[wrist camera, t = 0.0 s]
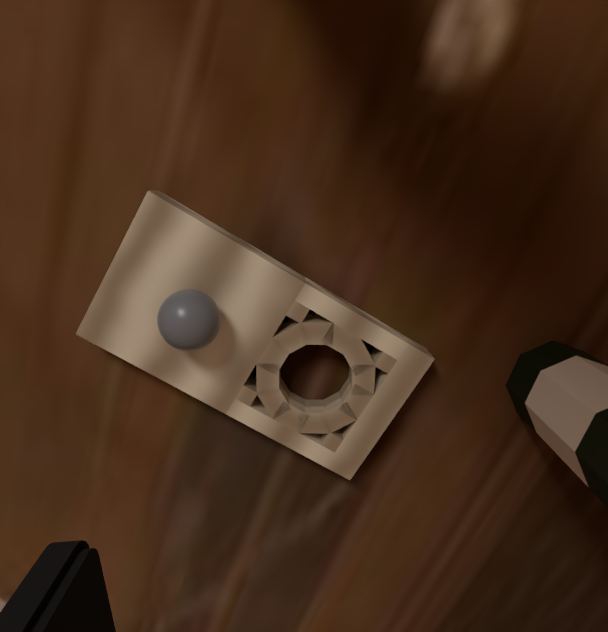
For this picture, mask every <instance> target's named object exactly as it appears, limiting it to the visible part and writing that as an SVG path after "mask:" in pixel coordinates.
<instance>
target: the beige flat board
mask: <svg viewBox="0 0 608 632" xmlns="http://www.w3.org/2000/svg"><path fill="white" fill-rule="evenodd" d="M185 289H193V290H198V291H201V292H203V293H205V294H207V295H208V296H209V297H211V298H212V299H213V300H214V302H215V303H216V305H217V306H218V309H219V312H220V317H221V324H220V328H219V331H218V334H217V336H216V337H215V338H214V340H213V341H212V342H211V343H210V344H209V345H207V346H206V347H204V348H202V349H199V350H195V351H182V350H179V349H176V348H174V347H172V346H171V345H169V344H168V343H167V342H166V341H165V340H164V339H163V337H162V336H161V334H160V332H159V329H158V324H157V316H158V312H159V309H160V306H161V305H162V303H163V302H164V301H165V299H166V298H167V297H168V296H170V295H171V294H173V293H175V292H177V291H180V290H185ZM309 310H312V311H314V312H315V313H317V314H307V313H308V312H309ZM285 316H288V317H290V318H292V319H290V320H288V321H286V322H285V323H283V324H281V323H282V321H283V319H284V318H285ZM280 324H281V325H280ZM76 335H78V336H80V337H82V338H84V339H86V340H88V341H90V342H91V343H93V344H95V345H97V346H99V347H101V348H103V349H105V350H106V351H108V352H110V353H112V354H114V355H116V356H118V357H120V358H121V359H123V360H125V361H127V362H129V363H131V364H133V365H135V366H136V367H138V368H140V369H142V370H144V371H146V372H148V373H150V374H151V375H153V376H155V377H157V378H159V379H161V380H163V381H165V382H166V383H168V384H170V385H172V386H174V387H176V388H178V389H179V390H181V391H183V392H185V393H187V394H189V395H191V396H193V397H194V398H196V399H198V400H200V401H202V402H204V403H206V404H208V405H209V406H211V407H213V408H215V409H217V410H219V411H221V412H223V413H224V414H226V415H228V416H230V417H232V418H234V419H236V420H238V421H239V422H241V423H243V424H245V425H247V426H249V427H251V428H253V429H254V430H256V431H258V432H260V433H262V434H264V435H266V436H268V437H269V438H271V439H273V440H275V441H277V442H279V443H281V444H283V445H284V446H286V447H288V448H290V449H292V450H294V451H296V452H298V453H299V454H301V455H303V456H305V457H307V458H309V459H311V460H313V461H314V462H316V463H318V464H320V465H322V466H324V467H326V468H328V469H329V470H331V471H333V472H335V473H337V474H339V475H341V476H343V477H344V478H346V479H348V480H351V478H352V477H353V475H354V474H355V473H356V471H357V470H358V468H359V467H360V465H361V464H362V463H363V461H364V460H365V458H366V457H367V455H368V454H369V453H370V451H371V450H372V448H373V447H374V445H375V444H376V442H377V441H378V440H379V438H380V437H381V435H382V434H383V432H384V431H385V430H386V428H387V427H388V425H389V424H390V422H391V421H392V420H393V418H394V417H395V415H396V414H397V412H398V411H399V410H400V408H401V407H402V405H403V404H404V402H405V401H406V400H407V398H408V397H409V395H410V394H411V392H412V391H413V390H414V388H415V387H416V385H417V384H418V382H419V381H420V380H421V378H422V377H423V375H424V374H425V372H426V371H427V370H428V368H429V367H430V365H431V364H432V362H433V361H434V360H435V359H434V358H433V356H432V355H431V354H430V352H429V351H428V350H427V348H425V347H423V346H422V345H420V344H418V343H416V342H415V341H413V340H411V339H410V338H408V337H406V336H405V335H403V334H401V333H399V332H398V331H396V330H394V329H393V328H391V327H389V326H388V325H386V324H384V323H383V322H381V321H379V320H377V319H376V318H374V317H372V316H371V315H369V314H367V313H366V312H364V311H362V310H360V309H359V308H357V307H355V306H354V305H352V304H350V303H349V302H347V301H345V300H343V299H342V298H340V297H338V296H337V295H335V294H333V293H332V292H330V291H328V290H327V289H325V288H323V287H321V286H320V285H318V284H316V283H315V282H313V281H311V280H310V279H308V278H306V277H304V276H303V275H301V274H299V273H298V272H296V271H294V270H293V269H291V268H289V267H287V266H286V265H284V264H282V263H281V262H279V261H277V260H276V259H274V258H272V257H271V256H269V255H267V254H265V253H264V252H262V251H260V250H259V249H257V248H255V247H254V246H252V245H250V244H248V243H247V242H245V241H243V240H242V239H240V238H238V237H237V236H235V235H233V234H231V233H230V232H228V231H226V230H225V229H223V228H221V227H220V226H218V225H216V224H214V223H213V222H211V221H209V220H208V219H206V218H204V217H203V216H201V215H199V214H198V213H196V212H194V211H192V210H191V209H189V208H187V207H186V206H184V205H182V204H181V203H179V202H177V201H175V200H174V199H172V198H170V197H169V196H167V195H165V194H164V193H162V192H160V191H158V190H156V191H148V192H147V194H146V196H145V198H144V200H143V202H142V204H141V206H140V208H139V210H138V212H137V214H136V216H135V218H134V220H133V222H132V224H131V226H130V228H129V230H128V232H127V234H126V236H125V238H124V239H123V241H122V243H121V245H120V247H119V249H118V251H117V253H116V255H115V257H114V259H113V261H112V263H111V265H110V267H109V269H108V271H107V273H106V275H105V277H104V279H103V281H102V283H101V285H100V287H99V289H98V291H97V293H96V295H95V297H94V299H93V301H92V303H91V305H90V307H89V309H88V311H87V313H86V315H85V317H84V319H83V321H82V323H81V325H80V327H79V329H78V331H77V333H76ZM363 340H364V341H365V342H367V343H369V344H371V345H372V346H374V349H373V350H372V352H371V353H370V352H369V350H368V348H367V346H366V344H365V343H364V341H363ZM305 345H327V346H329V347H331V348H333V349H334V350H336V351H338V352H340V353H341V354H343V355H344V357H345V358H346V360H347V362H348V364H349V377H348V379H347V380H346V382H345V383H344V385H343V386H342V388H341V389H340V391H339V392H337V393H335V394H333V395H331V396H329V397H327V398H326V399H324V400H305V399H303V398H301V397H300V396H298V395H296V394H294V393H292V392H290V391H289V389H288V388H287V386H286V384H285V383H284V381H283V380H282V378H281V376H280V368H281V366H282V364H283V363H284V361H285V360H286V358H287V356H288V355H289V354H290V353H292V352H294V351H295V350H297V349H299V348H301V347H303V346H305ZM255 365H256V378H255V377H253V376H251V375H250V374H251V372H252V370H253V369H254V367H255ZM375 367H377V368H379V369H378V371H377V372H376V374H375ZM257 395H258V396H257Z"/></svg>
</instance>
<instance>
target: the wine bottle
mask: <svg viewBox="0 0 608 632" xmlns="http://www.w3.org/2000/svg"><path fill="white" fill-rule="evenodd" d="M506 386H507V389H508V391H509V393H510V396H511V398H512V401H513V403H514V406H515V408H516V411H517V413H518V414H519V415H520V416H521V417H522V418H523V419H524V420H525V421H526V422H527V423H528V424H529V425H530V426H531V427H532V428H533V429H534V431H535V432H536V433H537V434H538V435H539V436H540V437H541V438H542V439H543V440H544V441H545V442H546V443H547V444H548V445H549V446H550V447H551V448H552V449H553V451H554V452H555V453H556V454H557V455H558V456H559V457H560V458H561V459H562V460H563V461H564V462H565V463H566V464H567V465H568V466H569V467H570V468H571V469H572V470H573V472H574V473H575V474H576V475H577V476H578V477H579V478H580V479H581V480H582V481H583V482H584V483H585V484H586V485H587V486H588V487H589V488H590V489H591V490H592V492H593V493H594V494H595V495H596V496H597V497H598V498H599V499H600V500H601V501H602V502H603V503H604V504H605V505H606V506H607V507H608V366H607V365H605V364H604V363H602V362H600V361H599V360H597V359H595V358H593V357H592V356H590V355H588V354H587V353H585V352H583V351H581V350H578V349H575V348H572V347H569V346H566V345H563V344H560V343H557V342H555V341H551V342H549V343H546V344H544V345H542V346H540V347H537V348H535V349H533V350H530V351H528V352H526V353H524V354H521V355H520V357H519V359H518V361H517V363H516V365H515V367H514V369H513V371H512V373H511V375H510V378H509V380H508V382H507V384H506Z"/></svg>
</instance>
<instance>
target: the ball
mask: <svg viewBox="0 0 608 632" xmlns="http://www.w3.org/2000/svg"><path fill="white" fill-rule="evenodd" d="M157 324H158V329H159V332H160V334H161V336H162V337H163V339H164V340H165V341H166V342H167V343H168V344H169V345H171V346H172V347H174V348H176V349H179V350H182V351H195V350H199V349H202V348H204V347H206V346H207V345H209V344H210V343H211V342H212V341H213V340H214V338H215V337H216V336H217V334H218V331H219V328H220V324H221V317H220V312H219V309H218V306H217V305H216V303H215V302H214V300H213V299H212V298H211V297H209V296H208V295H207V294H205V293H203V292H201V291H198V290H193V289H185V290H180V291H177V292H175V293H173V294H171V295H170V296H168V297H167V298H166V299H165V301H164V302H163V303H162V305H161V306H160V309H159V312H158V316H157Z"/></svg>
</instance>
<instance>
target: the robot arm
mask: <svg viewBox="0 0 608 632" xmlns="http://www.w3.org/2000/svg"><path fill="white" fill-rule="evenodd" d="M0 632H116V631H115V626H114V622H113V617H112V613H111V608H110V604H109V599H108V594H107V590H106V585H105V581H104V576H103V572H102V567H101V563H100V558H99V554H98V551H97V550H96V549H94V548H91V549H90V548H89V545H88V544H87V542H86V541H83V540H82V541H68V542H55V543H51V544H49V545H48V546H47V547H46V548H45V550H44V551H43V553H42V554H41V556H40V557H39V558H38V560H37V561H36V563H35V564H34V565H33V567H32V568H31V570H30V571H29V573H28V574H27V575H26V577H25V578H24V580H23V581H22V582H21V584H20V585H19V587H18V588H17V590H16V591H15V592H14V594H13V595H12V597H11V598H10V599H9V601H8V602H7V604H6V605H5V607H4V608H3V609H2V611H1V612H0Z"/></svg>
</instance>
